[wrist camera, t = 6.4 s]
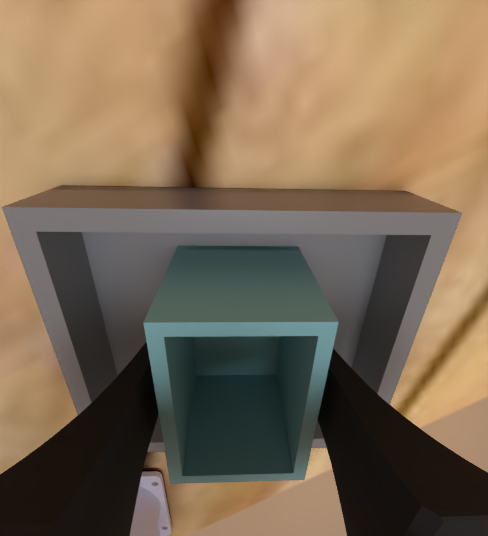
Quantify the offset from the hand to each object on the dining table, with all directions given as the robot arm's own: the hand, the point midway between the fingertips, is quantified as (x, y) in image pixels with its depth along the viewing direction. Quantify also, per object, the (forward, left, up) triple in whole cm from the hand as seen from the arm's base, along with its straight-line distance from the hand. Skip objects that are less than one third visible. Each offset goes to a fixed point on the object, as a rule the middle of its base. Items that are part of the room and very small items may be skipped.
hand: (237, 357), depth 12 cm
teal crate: (0, 0, -3) cm, 3 cm away
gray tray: (0, 0, -3) cm, 3 cm away
